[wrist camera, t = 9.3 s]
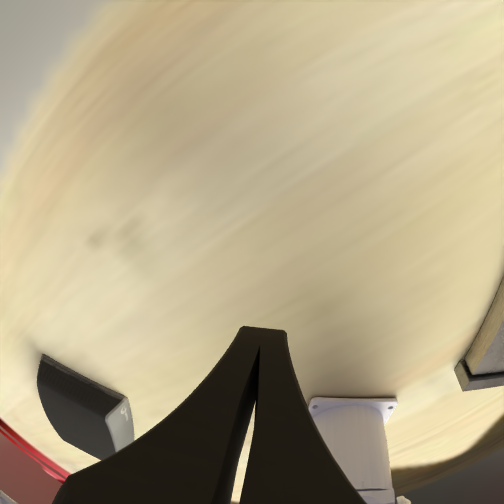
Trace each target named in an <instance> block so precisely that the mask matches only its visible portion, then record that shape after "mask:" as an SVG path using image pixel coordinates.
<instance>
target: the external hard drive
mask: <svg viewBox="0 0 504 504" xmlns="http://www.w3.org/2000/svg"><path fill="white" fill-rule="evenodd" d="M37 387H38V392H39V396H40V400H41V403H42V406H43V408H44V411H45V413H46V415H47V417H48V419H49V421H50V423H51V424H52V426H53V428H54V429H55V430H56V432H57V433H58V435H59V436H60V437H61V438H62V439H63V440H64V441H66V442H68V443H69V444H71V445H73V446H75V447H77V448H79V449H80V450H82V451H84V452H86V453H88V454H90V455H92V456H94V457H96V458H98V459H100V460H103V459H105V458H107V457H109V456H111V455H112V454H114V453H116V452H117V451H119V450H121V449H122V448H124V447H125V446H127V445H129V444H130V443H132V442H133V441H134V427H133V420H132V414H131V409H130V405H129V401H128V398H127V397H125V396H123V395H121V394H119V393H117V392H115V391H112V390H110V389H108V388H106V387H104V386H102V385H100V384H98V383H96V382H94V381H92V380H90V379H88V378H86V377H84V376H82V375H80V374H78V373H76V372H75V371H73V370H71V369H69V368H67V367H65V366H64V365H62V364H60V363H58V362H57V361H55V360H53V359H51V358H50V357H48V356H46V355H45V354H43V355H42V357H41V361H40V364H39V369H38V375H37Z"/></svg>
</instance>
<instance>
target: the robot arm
mask: <svg viewBox="0 0 504 504" xmlns="http://www.w3.org/2000/svg"><path fill="white" fill-rule="evenodd" d="M255 400H256V403H255ZM254 404H255V421H254V431H253V437H252V442H251V447H250V453H249V458H248V463H247V468H246V473H245V478H244V483H243V488H242V493H241V497H240V502H239V504H395V496H394V489H392V480H391V471H390V462H389V454H388V447H387V440H386V433H385V426H384V425H385V423H386V422H387V420H388V419H389V417H390V415H391V414H392V412H393V411H394V409H395V407H396V406H397V404H398V401H397V399H396V398H383V399H354V398H323V397H315V398H312V399H311V401H310V404H309V407H307V404H306V402H305V400H304V397H303V395H302V392H301V389H300V386H299V384H298V381H297V378H296V375H295V372H294V368H293V365H292V361H291V357H290V353H289V348H288V342H287V333H286V332H285V331H284V330H276V329H267V328H258V327H249V326H243V327H241V328H240V329H239V331H238V333H237V335H236V337H235V338H234V340H233V342H232V343H231V345H230V346H229V348H228V349H227V351H226V352H225V354H224V355H223V356H222V358H221V359H220V360H219V362H218V363H217V364H216V365H215V367H214V368H213V369H212V371H211V372H210V373H209V374H208V375H207V377H206V378H205V379H204V380H203V381H202V382H201V383H200V384H199V386H198V387H197V388H196V389H195V390H194V391H193V392H192V393H191V394H190V395H189V396H188V397H187V398H186V399H185V400H184V401H183V402H182V403H181V404H180V405H179V406H178V407H177V408H176V409H175V410H174V411H172V412H171V413H170V414H169V415H168V416H167V417H166V418H164V419H163V420H162V421H161V422H159V423H158V424H157V425H156V426H154V427H153V428H152V429H150V430H149V431H148V432H146V433H145V434H144V435H142V436H141V437H139V438H138V439H137V440H135V441H133V442H132V443H130V444H129V445H127V446H125V447H124V448H122V449H121V450H119V451H117V452H116V453H114V454H112V455H111V456H109V457H107V458H105V459H103V460H101V461H99V462H97V463H95V464H93V465H91V466H89V467H87V468H85V469H82V470H80V471H78V472H76V473H74V474H71V475H69V476H68V477H67V479H66V480H65V482H64V483H63V485H62V486H61V488H60V489H59V491H58V492H57V495H56V496H55V499H54V501H53V503H52V504H230V502H231V497H232V492H233V486H234V481H235V476H236V470H237V466H238V462H239V458H240V454H241V451H242V447H243V444H244V440H245V437H246V433H247V430H248V426H249V423H250V419H251V415H252V412H253V408H254ZM396 502H397V504H411V502H410V500H407V499H405V498H404V496H400V497H397V499H396ZM0 504H18V503H16V502H15V501H14V500H12V499H11V498H10V497H8V496H7V495H6V494H4V493H3V492H2V491H1V490H0Z"/></svg>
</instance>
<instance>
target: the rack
mask: <svg viewBox="0 0 504 504" xmlns="http://www.w3.org/2000/svg"><path fill="white" fill-rule="evenodd" d="M464 359H465V361H459V363H458V365H457V367H456V368H455V370H454V371H455V374H456V376H457V379H458V381H459V384H460V386H461V389H462V391H470V390H477V389H485V388H491V387H497V386H503V385H504V277H503V279H502V282H501V284H500V287H499V289H498V292H497V294H496V296H495V299H494V301H493V303H492V306H491V308H490V310H489V312H488V314H487V316H486V319H485V321H484V323H483V325H482V327H481V329H480V331H479V333H478V335H477V337H476V338H475V340H474V342H473V344H472V346H471V348H470V350H469V351H468V353H467V355H466V357H465V358H464Z"/></svg>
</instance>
